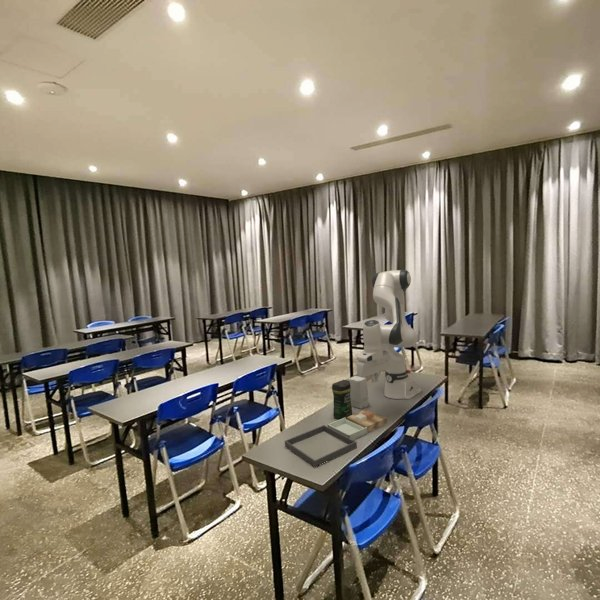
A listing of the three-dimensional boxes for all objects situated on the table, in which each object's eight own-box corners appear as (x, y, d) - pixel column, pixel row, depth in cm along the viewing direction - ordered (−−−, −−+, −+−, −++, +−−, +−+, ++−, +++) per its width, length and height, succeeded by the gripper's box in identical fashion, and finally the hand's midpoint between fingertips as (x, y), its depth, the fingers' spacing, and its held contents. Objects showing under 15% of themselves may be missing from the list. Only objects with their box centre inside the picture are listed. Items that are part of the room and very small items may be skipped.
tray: (345, 423, 177) (344, 417, 176) (367, 433, 164) (367, 427, 164) (328, 430, 170) (327, 424, 170) (349, 442, 158) (349, 435, 158)
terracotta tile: (367, 414, 177) (367, 410, 177) (373, 417, 174) (373, 413, 174) (361, 417, 175) (361, 413, 175) (367, 419, 172) (367, 415, 172)
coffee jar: (342, 421, 178) (340, 385, 176) (331, 417, 184) (328, 382, 182) (355, 415, 185) (353, 380, 183) (343, 411, 191) (341, 377, 189)
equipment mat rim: (324, 429, 171) (324, 424, 171) (356, 447, 153) (356, 441, 153) (285, 446, 159) (284, 440, 159) (315, 467, 141) (314, 461, 140)
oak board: (365, 415, 184) (365, 409, 183) (386, 423, 172) (386, 417, 172) (346, 423, 176) (346, 417, 176) (367, 432, 165) (366, 426, 165)
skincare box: (369, 405, 195) (367, 378, 193) (361, 409, 191) (359, 381, 189) (357, 402, 201) (355, 375, 200) (349, 405, 197) (347, 378, 196)
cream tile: (361, 417, 175) (360, 413, 175) (366, 419, 172) (366, 415, 171) (354, 419, 173) (354, 415, 172) (360, 422, 169) (360, 418, 169)
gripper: (383, 348, 184) (384, 375, 185) (353, 357, 172) (355, 385, 174) (392, 350, 178) (394, 377, 180) (363, 359, 167) (364, 388, 168)
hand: (375, 381), depth 177 cm, fingers closed
